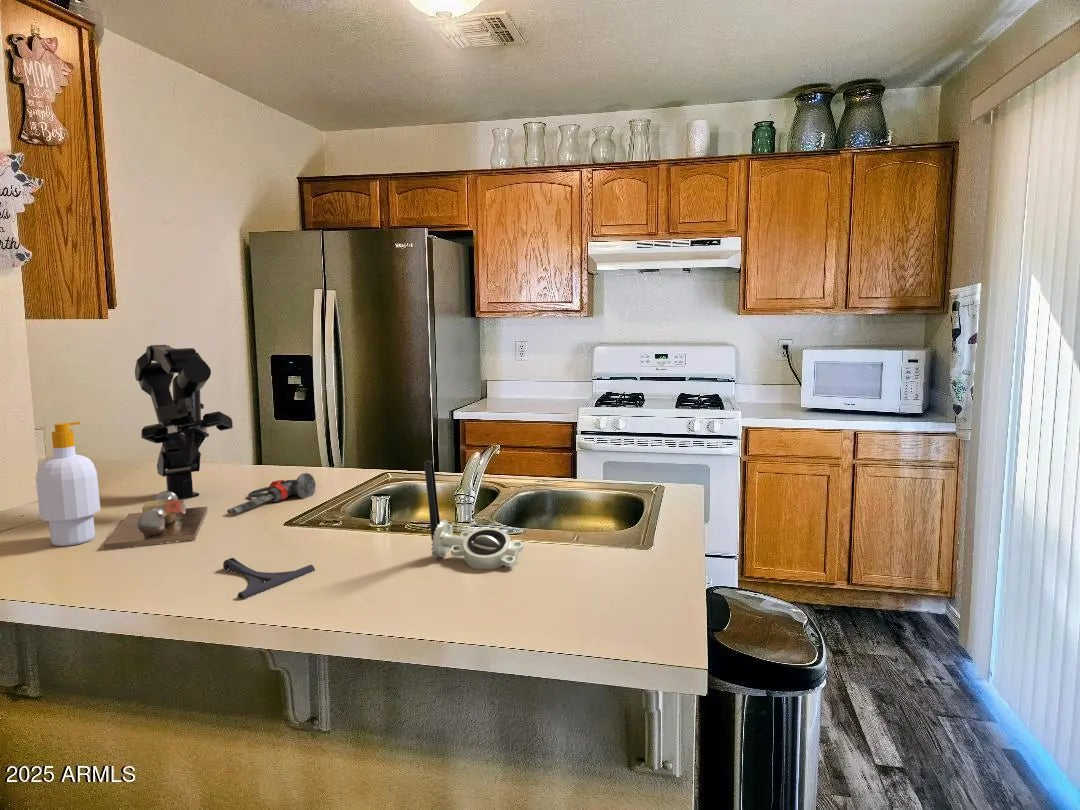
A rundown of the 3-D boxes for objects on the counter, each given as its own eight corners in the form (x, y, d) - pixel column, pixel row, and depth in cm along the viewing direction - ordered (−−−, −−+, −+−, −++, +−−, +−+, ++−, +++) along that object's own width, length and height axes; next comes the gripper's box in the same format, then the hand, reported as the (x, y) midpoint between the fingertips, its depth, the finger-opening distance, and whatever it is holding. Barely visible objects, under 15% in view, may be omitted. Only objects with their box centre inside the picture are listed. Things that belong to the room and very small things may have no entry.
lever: (176, 504, 149) (166, 500, 138) (188, 503, 150) (179, 499, 139) (176, 515, 149) (166, 512, 138) (189, 514, 150) (180, 511, 139)
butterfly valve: (527, 553, 130) (443, 537, 135) (524, 463, 121) (435, 449, 126) (511, 583, 122) (423, 565, 127) (506, 489, 113) (412, 473, 118)
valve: (283, 493, 184) (327, 490, 178) (204, 526, 161) (252, 523, 155) (278, 470, 184) (323, 466, 178) (198, 499, 160) (246, 496, 154)
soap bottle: (110, 540, 140) (98, 423, 137) (49, 553, 133) (36, 430, 130) (95, 529, 147) (84, 418, 144) (37, 541, 140) (24, 424, 137)
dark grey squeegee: (261, 559, 131) (260, 545, 130) (315, 574, 123) (314, 559, 123) (189, 586, 118) (187, 570, 118) (244, 604, 111) (242, 587, 110)
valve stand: (129, 518, 155) (127, 492, 154) (207, 511, 160) (205, 485, 160) (104, 550, 135) (101, 519, 134) (195, 540, 140) (192, 510, 139)
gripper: (125, 396, 153) (124, 464, 148) (206, 379, 152) (208, 447, 147) (156, 410, 163) (157, 474, 159) (232, 395, 163) (235, 458, 158)
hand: (188, 463), depth 155 cm, fingers closed
